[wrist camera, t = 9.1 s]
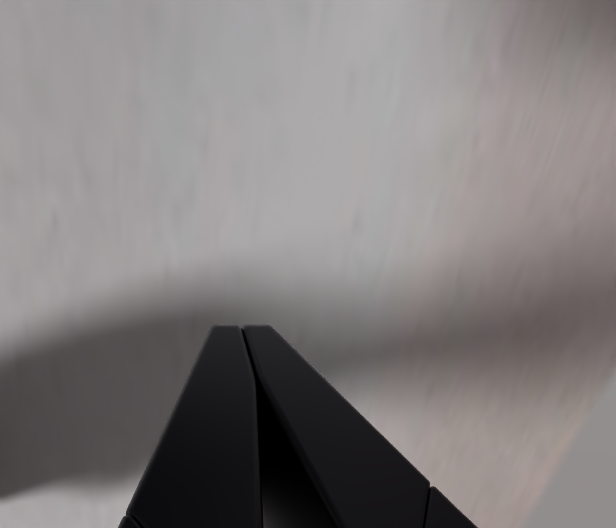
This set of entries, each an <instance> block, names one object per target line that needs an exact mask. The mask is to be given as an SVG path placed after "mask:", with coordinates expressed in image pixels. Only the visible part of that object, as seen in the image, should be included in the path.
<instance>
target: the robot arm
mask: <svg viewBox="0 0 616 528" xmlns="http://www.w3.org/2000/svg"><path fill="white" fill-rule="evenodd" d="M118 528H478V527H477V526H475V525H474V524H473V523H472V522H471V521H470V520H469V519H468V518H467V517H466V516H465V515H464V514H463V513H462V512H461V511H459V510H458V509H457V508H456V507H455V506H454V505H453V504H452V503H451V502H450V501H449V500H448V499H447V498H446V497H445V496H444V495H443V494H442V493H441V492H440V491H439V490H438V489H437V488H436V487H434V486H432V487H430V482H429V481H428V480H427V479H426V478H425V477H424V476H423V475H422V474H421V473H420V472H419V471H418V470H417V469H416V468H415V467H414V466H413V465H412V464H411V463H410V462H409V461H408V460H407V459H406V458H405V457H404V456H403V455H402V454H401V453H400V452H399V451H398V450H397V449H396V448H395V447H394V446H393V445H392V444H391V443H390V442H389V441H388V440H387V439H386V438H385V437H384V436H383V435H382V434H380V433H379V432H378V431H377V430H376V429H375V428H374V427H373V426H372V425H371V424H370V423H369V422H368V421H367V420H366V419H365V418H364V417H363V416H362V415H361V414H360V413H359V412H358V411H357V410H356V409H355V408H354V407H353V406H352V405H351V404H350V403H349V402H348V401H347V400H346V399H345V398H344V397H343V396H342V395H341V394H340V393H339V392H338V391H337V390H336V389H335V388H334V387H333V386H332V385H331V384H329V383H328V382H327V381H326V380H325V379H324V378H323V377H322V376H321V375H320V374H319V373H318V372H317V371H316V370H315V369H314V368H313V367H312V366H311V365H310V364H309V363H308V362H307V361H306V360H305V359H304V358H303V357H302V356H301V355H300V354H299V353H298V352H297V351H296V350H295V349H294V348H293V347H292V346H291V345H290V344H289V343H288V342H287V341H286V340H285V339H284V338H283V337H282V336H281V335H280V334H279V333H277V332H276V331H275V330H274V329H273V328H272V327H271V326H269V325H244V326H243V327H242V328H241V327H239V326H238V325H214V326H212V327H211V328H210V330H209V332H208V334H207V337H206V339H205V341H204V343H203V345H202V347H201V350H200V352H199V354H198V356H197V358H196V361H195V363H194V365H193V367H192V369H191V371H190V374H189V376H188V378H187V380H186V382H185V384H184V387H183V389H182V391H181V393H180V395H179V397H178V400H177V402H176V404H175V406H174V408H173V410H172V413H171V415H170V417H169V419H168V421H167V424H166V426H165V428H164V430H163V432H162V434H161V437H160V439H159V441H158V443H157V445H156V447H155V450H154V452H153V454H152V456H151V458H150V460H149V463H148V465H147V467H146V469H145V471H144V473H143V476H142V478H141V480H140V482H139V484H138V487H137V489H136V491H135V493H134V495H133V497H132V500H131V502H130V504H129V506H128V508H127V511H126V516H124V517H123V518H122V520H121V522H120V525H119V527H118Z"/></svg>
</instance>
